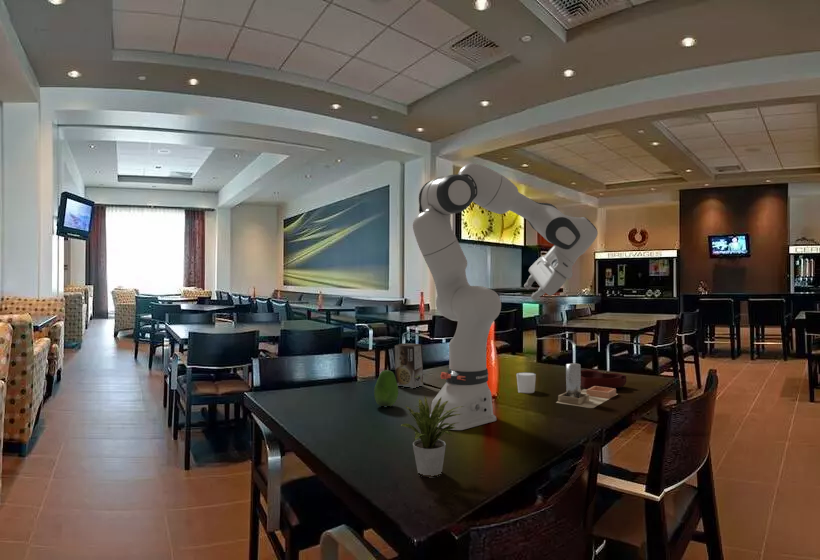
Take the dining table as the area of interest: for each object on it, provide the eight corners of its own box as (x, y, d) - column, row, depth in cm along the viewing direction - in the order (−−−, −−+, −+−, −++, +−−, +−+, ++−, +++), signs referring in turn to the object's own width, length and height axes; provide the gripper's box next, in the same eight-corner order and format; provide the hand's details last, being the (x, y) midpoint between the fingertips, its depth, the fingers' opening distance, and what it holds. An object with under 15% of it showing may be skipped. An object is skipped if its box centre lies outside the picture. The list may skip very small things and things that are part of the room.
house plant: (451, 493, 97) (450, 408, 97) (386, 483, 102) (385, 402, 102) (470, 467, 110) (470, 392, 110) (411, 459, 115) (411, 388, 115)
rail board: (592, 410, 155) (592, 401, 155) (555, 404, 163) (555, 396, 163) (618, 396, 174) (618, 388, 173) (583, 391, 181) (583, 383, 181)
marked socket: (608, 398, 167) (608, 392, 167) (586, 395, 172) (586, 389, 172) (616, 394, 173) (616, 388, 173) (594, 391, 177) (594, 385, 177)
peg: (577, 403, 161) (577, 366, 161) (564, 401, 164) (563, 364, 164) (583, 400, 164) (582, 364, 164) (569, 398, 167) (569, 362, 167)
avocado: (398, 409, 159) (397, 371, 159) (373, 410, 159) (372, 372, 159) (398, 403, 167) (398, 367, 167) (375, 403, 167) (374, 367, 167)
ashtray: (563, 387, 189) (563, 374, 189) (585, 381, 200) (585, 368, 200) (608, 395, 176) (608, 381, 176) (630, 388, 187) (630, 374, 187)
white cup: (538, 395, 176) (538, 375, 176) (518, 395, 176) (518, 375, 176) (533, 391, 183) (533, 371, 183) (514, 391, 183) (514, 372, 183)
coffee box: (423, 386, 194) (423, 344, 194) (415, 389, 189) (414, 346, 189) (403, 383, 199) (403, 342, 199) (394, 386, 193) (394, 344, 193)
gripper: (541, 247, 174) (515, 277, 178) (559, 266, 155) (529, 299, 159) (555, 257, 176) (528, 287, 179) (574, 277, 156) (544, 310, 160)
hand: (529, 293), depth 169 cm, fingers open, 8 cm apart
